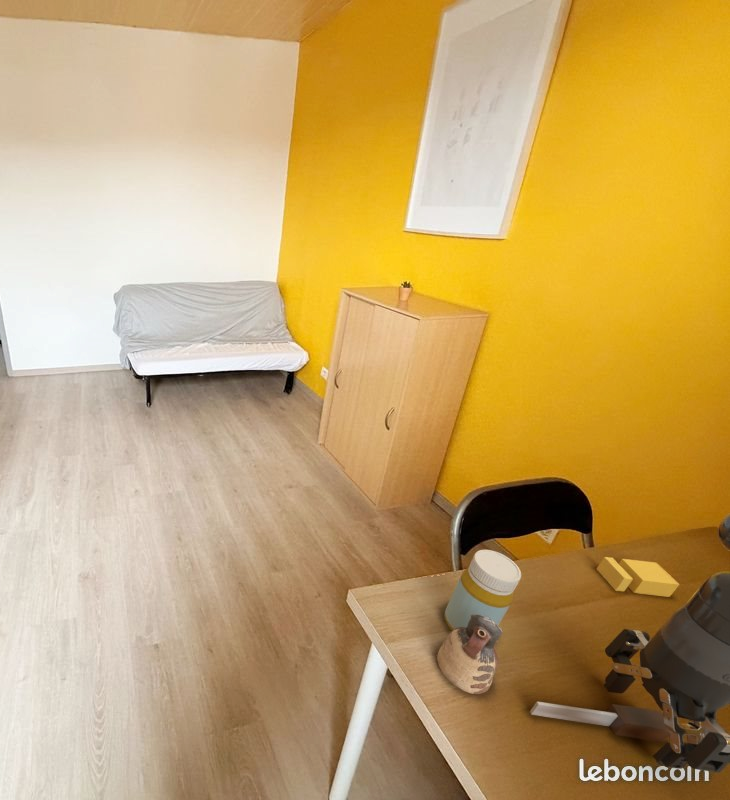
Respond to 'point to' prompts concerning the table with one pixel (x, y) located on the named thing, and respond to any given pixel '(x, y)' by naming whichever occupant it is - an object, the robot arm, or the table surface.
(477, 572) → the bottle
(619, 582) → the butter slice
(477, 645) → the figurine
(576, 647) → the table surface
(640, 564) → the butter block
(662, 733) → the knife
